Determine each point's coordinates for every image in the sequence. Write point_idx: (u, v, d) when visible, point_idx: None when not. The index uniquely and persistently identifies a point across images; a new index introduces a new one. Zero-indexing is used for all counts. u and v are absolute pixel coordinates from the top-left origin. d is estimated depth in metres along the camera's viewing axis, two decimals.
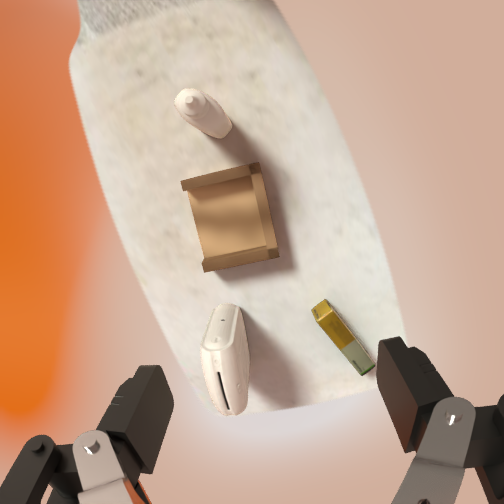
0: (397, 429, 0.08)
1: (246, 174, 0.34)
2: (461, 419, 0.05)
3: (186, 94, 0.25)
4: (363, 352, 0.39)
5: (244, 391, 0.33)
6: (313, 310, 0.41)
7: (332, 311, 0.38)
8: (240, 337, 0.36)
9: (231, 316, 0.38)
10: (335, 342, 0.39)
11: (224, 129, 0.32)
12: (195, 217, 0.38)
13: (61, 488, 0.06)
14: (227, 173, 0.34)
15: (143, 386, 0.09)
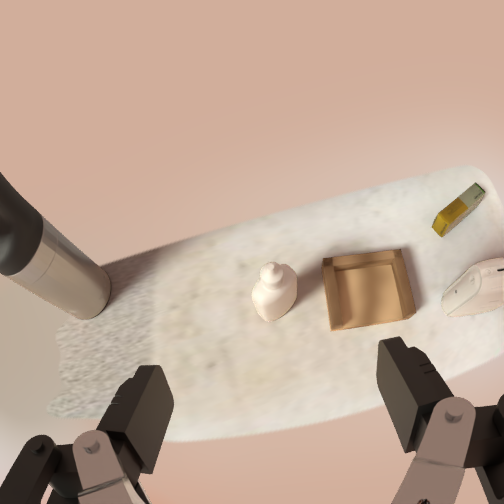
0: (397, 429, 0.08)
1: (332, 268, 0.40)
2: (461, 419, 0.05)
3: (263, 275, 0.32)
4: (467, 191, 0.42)
5: None
6: (441, 234, 0.42)
7: (439, 213, 0.41)
8: None
9: (452, 288, 0.35)
10: (463, 211, 0.40)
11: None
12: (366, 322, 0.38)
13: (61, 488, 0.06)
14: (330, 284, 0.39)
15: (143, 386, 0.09)
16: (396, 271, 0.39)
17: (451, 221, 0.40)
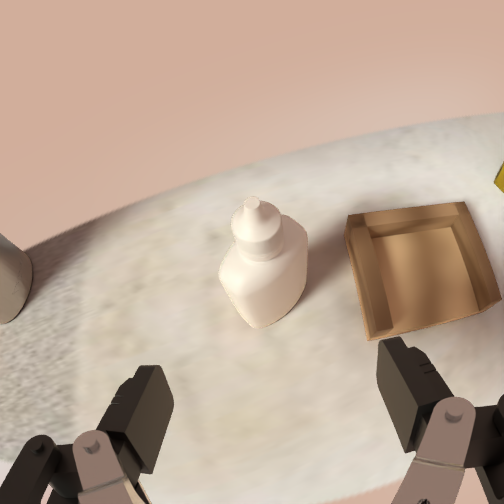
0: (397, 429, 0.08)
1: (366, 231, 0.22)
2: (461, 419, 0.05)
3: (237, 228, 0.15)
4: None
5: None
6: None
7: None
8: None
9: None
10: None
11: None
12: (426, 322, 0.20)
13: (61, 488, 0.06)
14: (366, 257, 0.21)
15: (143, 386, 0.09)
16: (463, 235, 0.21)
17: None
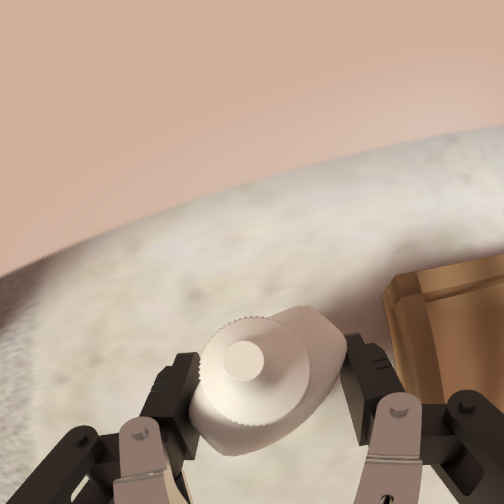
0: (353, 422, 0.09)
1: (422, 302, 0.14)
2: (405, 414, 0.06)
3: (211, 388, 0.06)
4: None
5: None
6: None
7: None
8: None
9: None
10: None
11: None
12: None
13: (98, 480, 0.06)
14: (420, 344, 0.13)
15: (185, 372, 0.10)
16: None
17: None
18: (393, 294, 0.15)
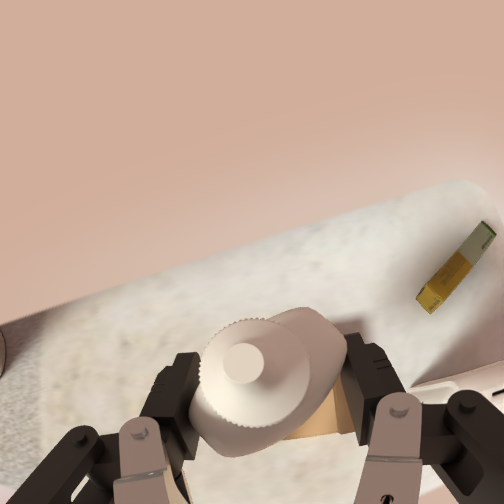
0: (353, 422, 0.09)
1: None
2: (405, 414, 0.06)
3: (211, 390, 0.06)
4: (470, 237, 0.28)
5: None
6: (430, 310, 0.28)
7: (428, 283, 0.26)
8: None
9: (419, 394, 0.22)
10: (465, 273, 0.26)
11: None
12: None
13: (98, 480, 0.06)
14: None
15: (185, 372, 0.10)
16: None
17: (446, 295, 0.25)
18: None
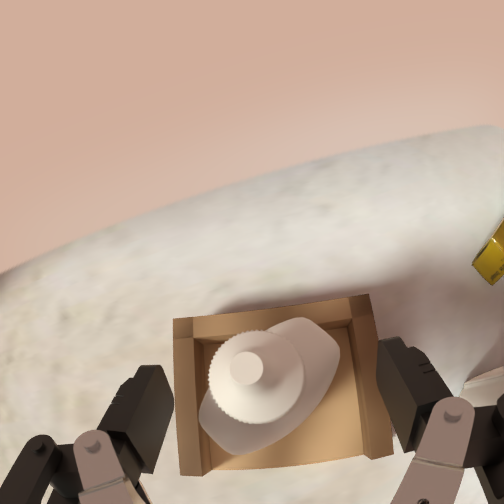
0: (396, 429, 0.08)
1: (190, 345, 0.16)
2: (460, 419, 0.05)
3: (219, 392, 0.07)
4: None
5: None
6: (493, 280, 0.18)
7: (494, 237, 0.16)
8: None
9: (489, 388, 0.12)
10: None
11: None
12: (272, 464, 0.15)
13: (62, 488, 0.06)
14: (182, 381, 0.16)
15: (144, 386, 0.09)
16: (355, 350, 0.16)
17: None
18: None
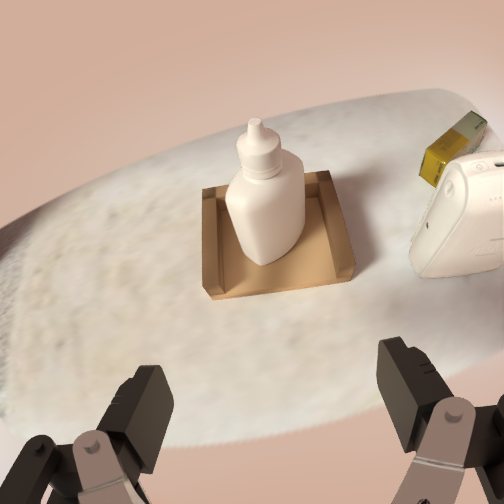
0: (397, 429, 0.08)
1: (214, 201, 0.26)
2: (461, 419, 0.05)
3: (242, 146, 0.16)
4: (462, 120, 0.26)
5: None
6: (436, 183, 0.27)
7: (428, 148, 0.25)
8: None
9: (422, 224, 0.21)
10: (463, 145, 0.25)
11: None
12: (269, 285, 0.24)
13: (61, 488, 0.06)
14: (207, 223, 0.25)
15: (143, 386, 0.09)
16: (322, 202, 0.25)
17: (448, 159, 0.24)
18: None
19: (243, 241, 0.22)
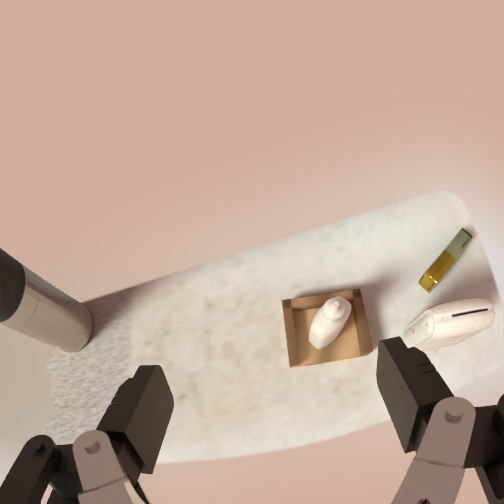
0: (397, 429, 0.08)
1: (291, 310, 0.42)
2: (461, 419, 0.05)
3: (327, 312, 0.32)
4: (454, 240, 0.42)
5: None
6: (429, 290, 0.42)
7: (426, 271, 0.41)
8: None
9: (411, 327, 0.37)
10: (450, 264, 0.41)
11: None
12: (323, 360, 0.40)
13: (61, 488, 0.06)
14: (288, 325, 0.41)
15: (143, 386, 0.09)
16: (355, 310, 0.41)
17: (439, 279, 0.40)
18: None
19: (313, 341, 0.38)
